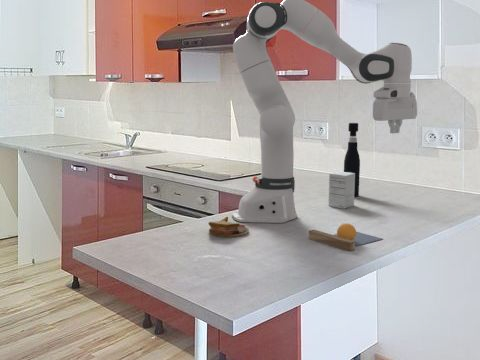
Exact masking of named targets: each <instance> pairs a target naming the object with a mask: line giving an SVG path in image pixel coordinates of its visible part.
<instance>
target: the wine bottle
mask: <svg viewBox="0 0 480 360" xmlns="http://www.w3.org/2000/svg"><path fill="white" fill-rule="evenodd" d="M347 131H348V132H349V138H348V142H347V150H346V153H345V156H344V160H343V172H349V173H355V191H354V198H358V197H359V196H360V175H361V174H360V173H361V172H360V170H361V160H360V154H359V150H358V138H357V132H359V123H357V122H349V123H348V130H347Z"/></svg>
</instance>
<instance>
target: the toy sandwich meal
mask: <svg viewBox="0 0 480 360" xmlns="http://www.w3.org/2000/svg"><path fill="white" fill-rule="evenodd" d="M208 225H209V227H210V228H209V229H208V232H209V233H210V235H212V236H214V237H218V238H228V239H229V238H239V237H240V238H241V237H243V236H245V235H248V234H249V231H250V229H249V228H247V227H246V225H244V224H241V223H238V222H232V221H229V217H228V216H225V217H224V218H223V219H221V220H219V221H217V220H216V221H209V222H208Z"/></svg>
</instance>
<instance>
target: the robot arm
mask: <svg viewBox="0 0 480 360" xmlns="http://www.w3.org/2000/svg"><path fill="white" fill-rule="evenodd" d="M280 30H285V31H288V32H291V33H292V34H293V35H295V36H296V37H298V38H299V39H300V40H301V41H304V43H307V44H309V45H311V46H312V47H314V48H317V49H320V50H322V51H323V52H326V53H328V54H330V55H331V56H332V57H334V58H335V59H337V61H339V62H341V64H343V65H345V66H346V67H347V69H349V71H350V73H351V74H352V76H353V78H354V79H355V80H356V81H357V82H358V83H361V84H364V85H365V84H366V85H368V84H371V83H376V82H378V81H383V86H382V87H379V88H378V89H376V90H374V91H373V94H372V95H373V96H372V97H373V98H374V100H373V103H372V119H373V120H374V121H380V122H384V121H387V124H388V126H389V133H390V134H399V133H400V128H401V127H402V124H403V120H415V119H416V118H417V116H418V103H417V99H416V95H415V94H414V92H413V91H411V87H412V81H411V73H412V68H413V67H412V66H413V65H412V64H413V61H412V60H413V57H412V50H411V48H410V46H409V45H407V44H404V43H399V42H389V43H387V45H384V46H383V47H382V48H380V49H378V50H375V51H373V52H370V53H363V52H360V51H358V50H357V49H355V48H354V47H352V46H351V45H350V44H349V43H348V42H347V41H345V40H344V39H342V38H341V36H340V35H339V34H338V32H337V30H336V27H335V24H334V22H333V21H332V20H331V18H329V16H327V15H326V13H324V12H323V11H321V10H320V8H318V7H316V6H315V5H313V4H311V3H310V2H308V1H306V0H282V2H281V3H280V2H270V1H262V2H259V3H256V4H255V5H254V6H253V7H252V8H251V9H250V11H249V13H248V16H247V18H246V30H245V33H244V34H243V35H240V36H239V37H237V38H236V39H235V40H234V42H233V44H232V51H233V56H234V60H235V63H236V66H237V69H238V71H239V74H240V76H241V79H242V81H243V82H244V86H245V88H246V89H247V93H248V95H249V97H250V98H251V100H252V102H253V103H254V106H255V107H256V109H257V111H258V113H259V134H260V135H259V136H260V137H259V140H260V142H259V143H260V152H261V153H260V155H261V158H260V160H261V161H260V163H261V165H260V167H261V168H260V176H257V175H254V176H253V177H252V181H253V183H255V184H254V186H255V187H253V188H252V189H251V190H250V191H249V192H247V193H246V194H245V195H243V196H242V197H241V199H240V200H239V204H238V209H237V210H234V211H232V213H231V214H232V216H231V217H232V218H233V219H234V220H235V221H237V222H240V223H271V224H272V223H273V224H274V223H276V224H278V223H280V224H283V223H286V222H288V221H291V220H295V219H296V218H298V215H297V211H296V206H295V205H296V204H295V199H294V198H295V197H294V192H295V187H296V185H295V183H296V182H295V177H294V158H295V157H294V126H295V123H296V115H295V112H294V109H293V107H292V105H291V102H290V101H289V98H288V97H287V94H286V92H285V90H284V88H283V86H282V84H281V82H280V80H279V77H278V75H277V73H276V70H275V68H274V65H273V62H272V60H271V59H270V56H269V54H268V50H267V48H266V47H267V46H266V44H267V43H268V42H269V41H271V39H273V38H274V37H275V36H276V35H277V33H278V32H279V31H280Z"/></svg>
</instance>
